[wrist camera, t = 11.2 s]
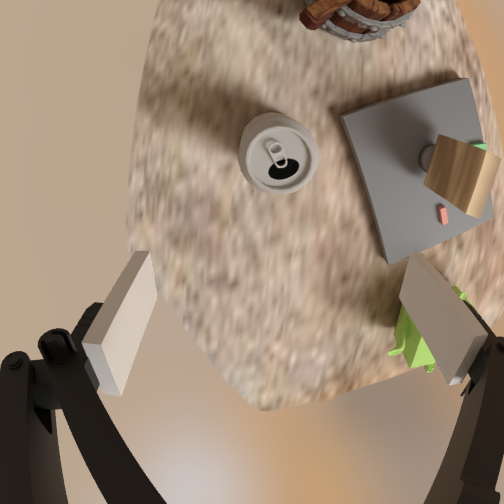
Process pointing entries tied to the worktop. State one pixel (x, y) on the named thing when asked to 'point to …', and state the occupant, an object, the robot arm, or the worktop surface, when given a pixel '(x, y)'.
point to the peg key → (459, 173)
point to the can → (277, 154)
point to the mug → (357, 17)
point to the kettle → (415, 340)
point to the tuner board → (412, 164)
